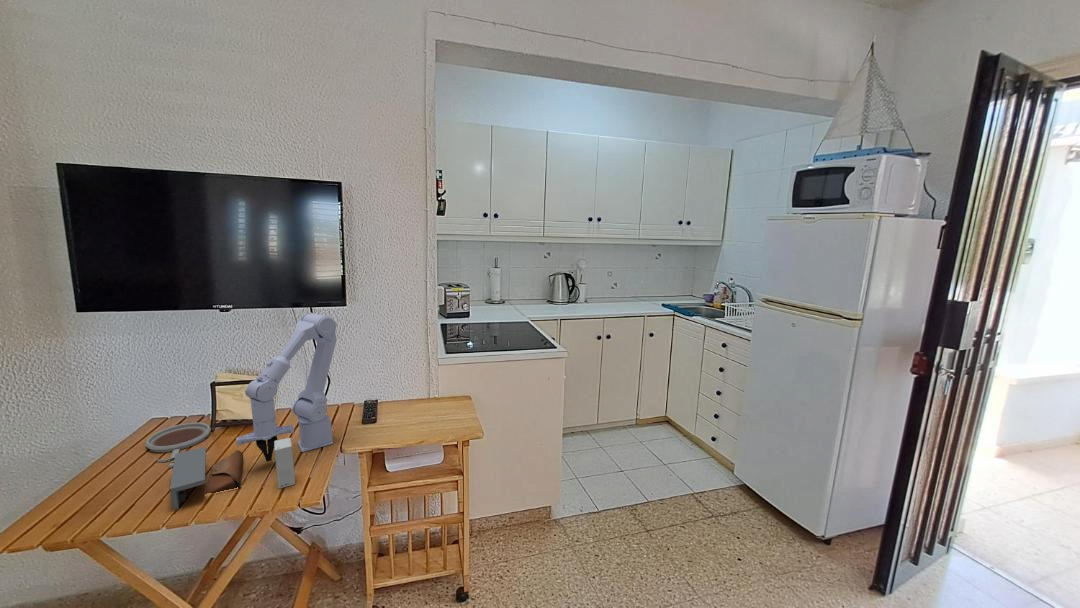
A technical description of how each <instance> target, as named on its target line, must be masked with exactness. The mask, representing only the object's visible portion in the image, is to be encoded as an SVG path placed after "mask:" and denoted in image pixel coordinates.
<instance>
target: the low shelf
mask: <svg viewBox="0 0 1080 608" xmlns="http://www.w3.org/2000/svg"><path fill="white" fill-rule="evenodd" d="M206 460H207V446H204V447H198V448H194V449H190V450H186V451H181V452H179V453H177V454H175V459H174V466H173V468H172V474H171V480H170V481H171V482H170V486H169V488H170V489H169V490H170V497H171V504H172V509H173V511H176V510H180V509H179V508H180V503H181V502H186V498H185V497H186V496H187V492H186V490H188V489H191V488H194V487H199V486H202V485H205V484H206V474H207V473H206V470H207V469H206V467H207V466H206V464H207V461H206Z"/></svg>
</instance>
